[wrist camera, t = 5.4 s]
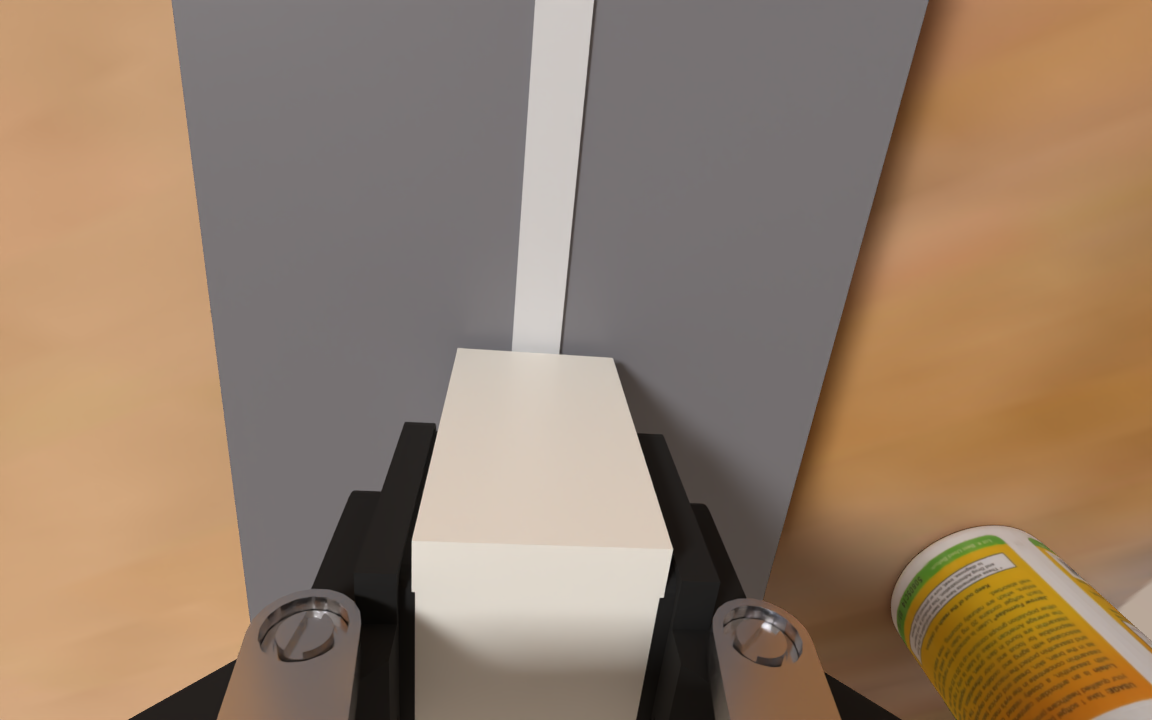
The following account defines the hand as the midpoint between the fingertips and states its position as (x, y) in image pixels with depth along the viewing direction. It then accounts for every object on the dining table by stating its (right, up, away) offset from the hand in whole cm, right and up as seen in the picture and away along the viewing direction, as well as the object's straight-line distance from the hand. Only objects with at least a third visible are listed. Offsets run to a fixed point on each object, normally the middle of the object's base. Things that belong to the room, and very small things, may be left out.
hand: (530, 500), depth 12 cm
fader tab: (0, +1, +2) cm, 2 cm away
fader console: (0, +5, +4) cm, 7 cm away
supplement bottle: (+14, -5, +10) cm, 18 cm away
